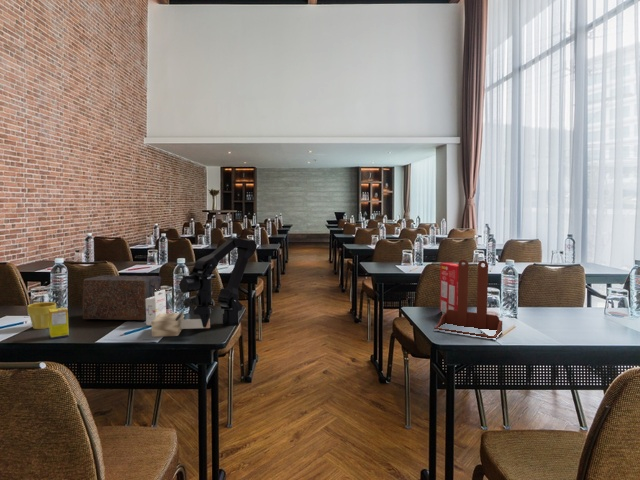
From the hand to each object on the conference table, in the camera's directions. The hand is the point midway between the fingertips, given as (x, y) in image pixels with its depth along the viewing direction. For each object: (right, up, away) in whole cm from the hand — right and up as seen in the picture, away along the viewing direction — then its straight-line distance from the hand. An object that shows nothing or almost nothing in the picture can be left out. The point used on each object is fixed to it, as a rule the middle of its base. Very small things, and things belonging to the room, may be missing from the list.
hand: (204, 326), depth 180 cm
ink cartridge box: (-25, -1, +11) cm, 27 cm away
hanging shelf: (+110, -3, 0) cm, 110 cm away
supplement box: (-55, -2, -10) cm, 56 cm away
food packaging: (+112, -1, +29) cm, 116 cm away
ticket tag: (-6, 0, -1) cm, 6 cm away
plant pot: (-70, -1, +3) cm, 70 cm away
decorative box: (-44, 0, +22) cm, 49 cm away
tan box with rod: (-14, -2, -2) cm, 15 cm away
